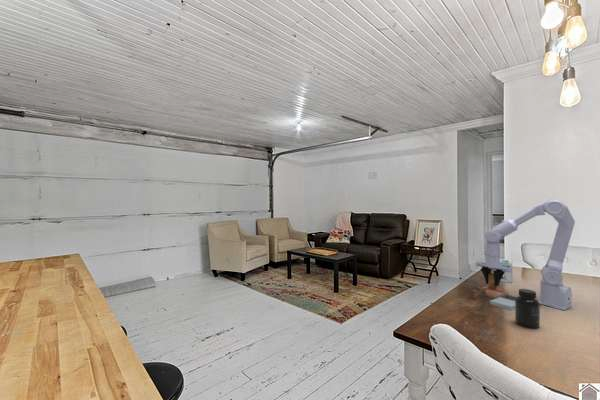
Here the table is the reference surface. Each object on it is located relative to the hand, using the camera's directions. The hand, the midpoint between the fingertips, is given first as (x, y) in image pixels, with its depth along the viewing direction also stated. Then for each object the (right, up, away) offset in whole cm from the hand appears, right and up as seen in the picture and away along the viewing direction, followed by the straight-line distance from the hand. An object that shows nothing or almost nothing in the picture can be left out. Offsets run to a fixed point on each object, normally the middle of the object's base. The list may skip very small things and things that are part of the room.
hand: (492, 284), depth 132 cm
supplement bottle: (-9, -5, -31) cm, 33 cm away
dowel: (0, -2, 0) cm, 2 cm away
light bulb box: (+22, -4, +22) cm, 32 cm away
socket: (+2, -5, -8) cm, 9 cm away
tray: (0, -5, 0) cm, 4 cm away
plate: (-4, -5, -14) cm, 15 cm away
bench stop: (-9, -5, -4) cm, 11 cm away
